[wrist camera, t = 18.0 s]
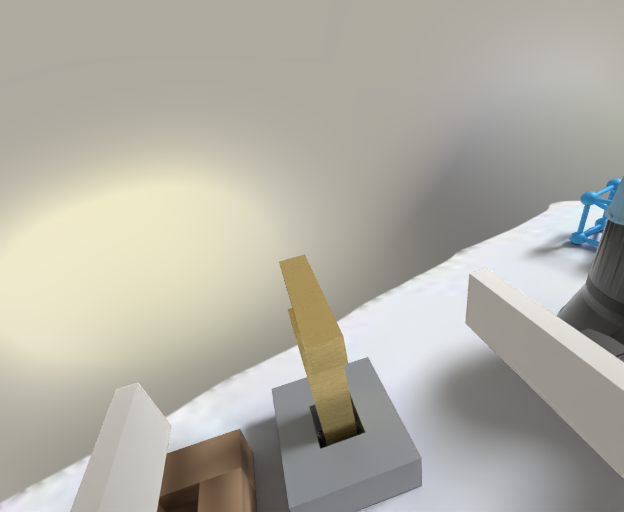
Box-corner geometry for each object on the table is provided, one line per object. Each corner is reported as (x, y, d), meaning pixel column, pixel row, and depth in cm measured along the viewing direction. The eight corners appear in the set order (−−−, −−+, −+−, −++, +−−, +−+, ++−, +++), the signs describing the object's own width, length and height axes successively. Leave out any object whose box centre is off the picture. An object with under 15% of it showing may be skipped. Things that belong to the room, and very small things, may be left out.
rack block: (371, 383, 40) (367, 357, 37) (421, 485, 29) (421, 458, 27) (281, 414, 38) (271, 389, 36) (301, 532, 28) (288, 508, 25)
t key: (340, 398, 39) (308, 253, 28) (376, 496, 29) (349, 334, 19) (316, 406, 38) (274, 263, 28) (345, 509, 29) (298, 350, 18)
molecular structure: (668, 243, 52) (693, 186, 47) (635, 265, 49) (659, 207, 44) (597, 225, 60) (613, 175, 55) (565, 243, 57) (579, 192, 52)
